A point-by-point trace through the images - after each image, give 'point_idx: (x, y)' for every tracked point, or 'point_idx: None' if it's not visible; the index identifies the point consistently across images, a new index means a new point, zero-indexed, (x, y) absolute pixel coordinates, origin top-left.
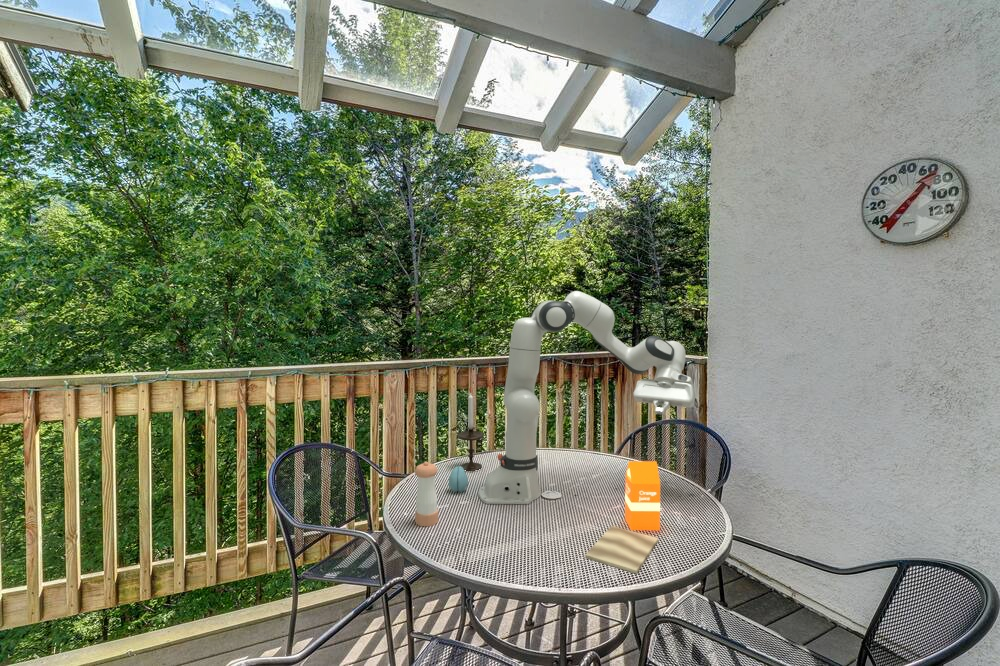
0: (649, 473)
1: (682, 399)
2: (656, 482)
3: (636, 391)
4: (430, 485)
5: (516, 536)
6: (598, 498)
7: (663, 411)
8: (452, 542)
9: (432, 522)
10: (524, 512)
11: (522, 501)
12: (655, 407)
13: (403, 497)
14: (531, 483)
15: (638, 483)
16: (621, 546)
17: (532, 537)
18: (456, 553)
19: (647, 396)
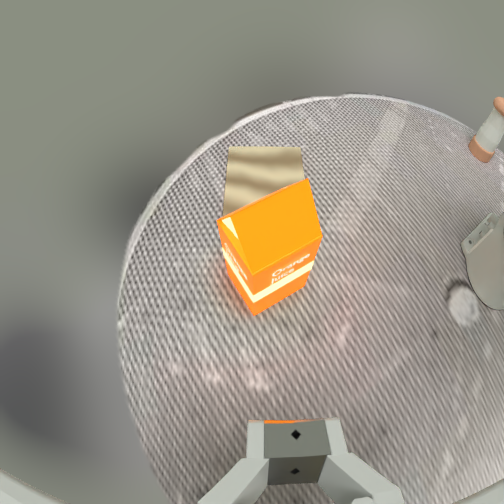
0: (246, 206)
1: (11, 496)
2: (226, 215)
3: None
4: (490, 114)
5: (398, 157)
6: (393, 349)
7: (247, 427)
8: (428, 128)
9: (470, 144)
10: (443, 217)
11: (467, 236)
12: (349, 456)
13: None
14: (485, 245)
15: (267, 195)
16: (267, 182)
17: (383, 162)
18: (408, 115)
19: (499, 493)
